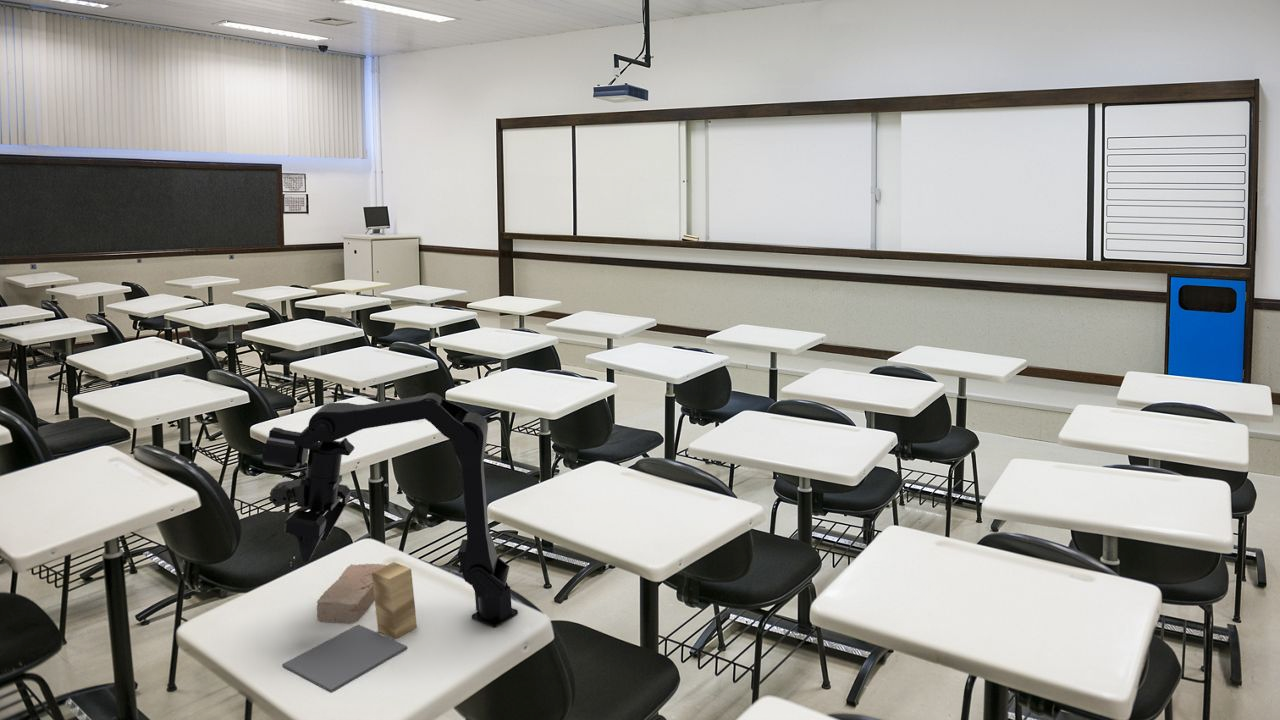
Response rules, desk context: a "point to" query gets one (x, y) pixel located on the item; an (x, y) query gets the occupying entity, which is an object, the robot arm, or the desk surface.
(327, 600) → the brick
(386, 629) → the oak block
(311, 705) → the desk surface
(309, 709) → the desk surface
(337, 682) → the mat
